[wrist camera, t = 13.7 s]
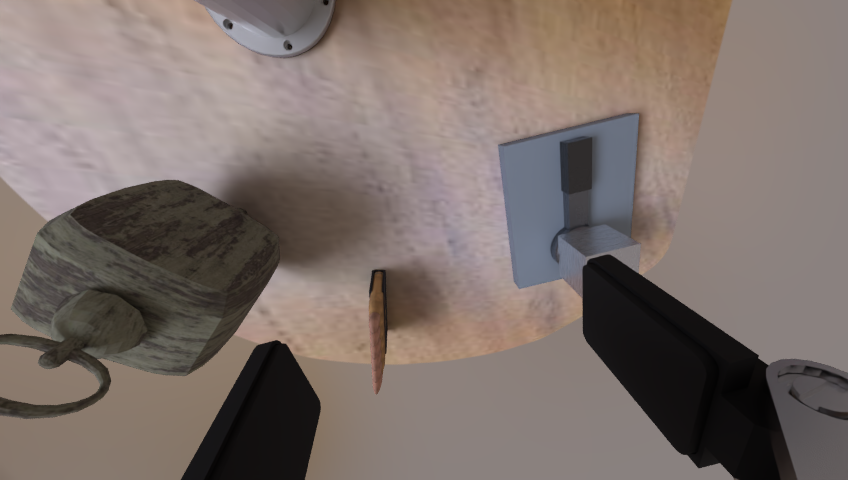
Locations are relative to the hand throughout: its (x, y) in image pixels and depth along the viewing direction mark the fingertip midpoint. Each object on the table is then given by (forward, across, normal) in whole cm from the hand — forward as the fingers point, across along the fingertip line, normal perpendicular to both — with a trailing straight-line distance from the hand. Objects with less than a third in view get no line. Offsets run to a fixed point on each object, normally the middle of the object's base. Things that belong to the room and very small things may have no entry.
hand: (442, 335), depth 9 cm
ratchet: (+27, -19, +10) cm, 35 cm away
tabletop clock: (+30, +22, +2) cm, 37 cm away
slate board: (+29, -20, +11) cm, 37 cm away
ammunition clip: (+30, +9, +18) cm, 36 cm away
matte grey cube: (+25, -19, +16) cm, 35 cm away
